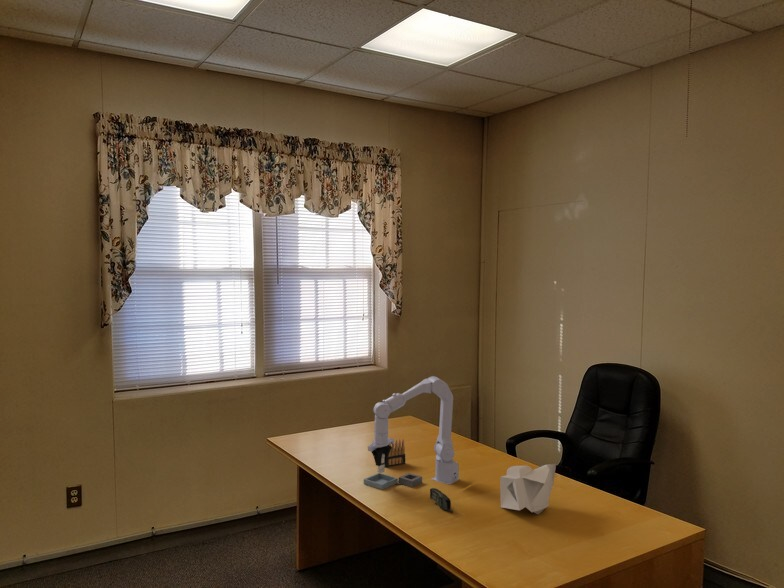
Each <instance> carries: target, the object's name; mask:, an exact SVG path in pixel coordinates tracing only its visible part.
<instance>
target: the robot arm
mask: <svg viewBox="0 0 784 588" xmlns="http://www.w3.org/2000/svg"><path fill="white" fill-rule="evenodd" d="M423 393H425V394H432V393H433V394H435V395H436V396H437V397H438V398H439V399H440V409H439V426H438V435H437V437H436V443H434V447H433V449H434V453H435V454H436V456H435V476H434V477H432V478H431V480H432V481H436V482H438V483H442V484H446V485H451V484H454V483H456V482H458V481H459V480H460V477H459V475H460V472H459V471H460V469H459V468H460V467H459V463H458V462H457V461H455V460H454V459H453V458H454V457H455V450H454V448H453V447H454V443H453V440H452V425H453V406H454V395H453V393H452V391H451V389H450V387H449V384H448V383H447V382H445V381H444V380H443V379H440V378H439V377H437V376H435V375H431V376H429V377H428V378H424V379H422V381H420V382H419V383H417V384H415V385H414V386H412V387H411V388H409V389H407V390H406V391H404V392H403V393H401V392H397V393H396V392H394V393H392V395H391V396H390V397H387V398H386V399H382V400H381V401H382V402H381V401H378V402H377V403H375V405H374V407H372V412H373V414H374V421H373V422H374V427H373V428H374V435H373V436H374V440H373V441H372V443H371V444H369V445H368V446H367V452H371V454H372V456H373V459H374V462H375V465H376V466H377V467H378V466H381V459H382V454H385V457H384V462H385V464H386V462H387V458H388V455H389V452H390V450H391V449H392V444H394V445H395V439H394V438H389V417H390V414H391V413H393V412H395V411H397V410H398V409H400V408H402V407H404V406H405V404H406V402H407V401H408V400H411V399H413V398H415V397H417V396H418V395H421V394H423ZM389 444H391V446H389Z"/></svg>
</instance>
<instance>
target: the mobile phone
mask: <svg viewBox="0 0 784 588" xmlns="http://www.w3.org/2000/svg"><path fill="white" fill-rule="evenodd" d="M429 498H430V500H432V501H433V502H434V503H435V504H436V506H438V508H440V509H441V510H444V511H448V512H450V513H452V514H453V513H454V510H452V509H451V507H452V505H451V502H452V501H451V499H450V498H449V497H448V495H446V494H445V493H444V492H443V491H441V490H439V489H438V488H435V487H432V488H430V489H429Z"/></svg>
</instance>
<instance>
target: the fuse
mask: <svg viewBox="0 0 784 588" xmlns="http://www.w3.org/2000/svg"><path fill="white" fill-rule="evenodd" d="M384 457H385V454H382V459H381V466H377V473H382V474H383V473H385V471H386V469H385V468H384V464H385V462H384Z"/></svg>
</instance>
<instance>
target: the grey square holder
mask: <svg viewBox="0 0 784 588" xmlns="http://www.w3.org/2000/svg"><path fill="white" fill-rule="evenodd" d="M422 483H423V476H422V475H418V474H415V473H412V472H408V473H405V474H403V475H400V476H399V477H398V484H399V485H403V486H407V487H410V488H414V487H416V486H418V485H420V484H422Z"/></svg>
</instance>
